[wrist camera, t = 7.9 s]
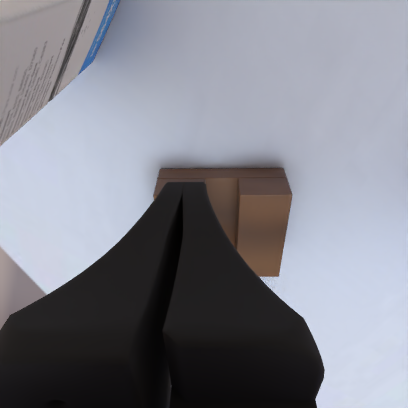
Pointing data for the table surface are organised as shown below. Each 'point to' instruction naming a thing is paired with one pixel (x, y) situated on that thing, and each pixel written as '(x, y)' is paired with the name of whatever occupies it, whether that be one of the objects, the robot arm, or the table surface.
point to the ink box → (45, 52)
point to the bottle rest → (245, 209)
